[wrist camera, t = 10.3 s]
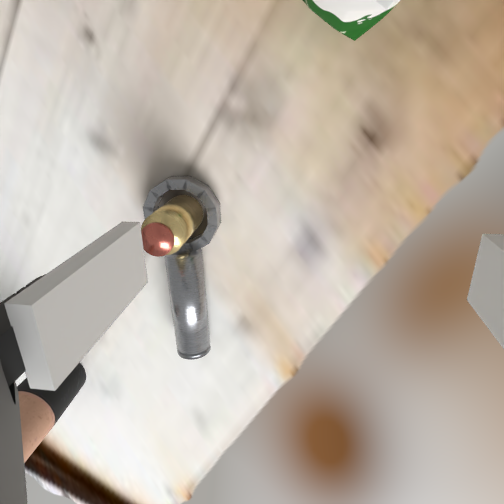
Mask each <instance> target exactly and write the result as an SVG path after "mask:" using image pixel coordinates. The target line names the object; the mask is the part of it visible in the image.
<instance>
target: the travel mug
mask: <svg viewBox="0 0 504 504" xmlns="http://www.w3.org/2000/svg"><path fill="white" fill-rule="evenodd" d="M85 380H86V373H85V370H84V368H83V367H82V365H81V364H80V363H78V365H77V366H76V367H75V368H74V369H73V370H72V372H71V373H70V374H69V375H68V376H67V378H66V379H65V380H64V381H63V382H62V383H61V385H60V386H59V387H58V388H57V389H56V390H55V391H51V390H41V389H31V388H30V386H29V383H28V380H27V378H26V379H25V380H24V381H23V382H22V383H21V384H20V385H18V386H17V389H18V394H19V406H20V419H21V431H22V443H23V455H24V463H25V462H26V460H27V459H28V458H29V457H30V455H31V454H32V453H33V451H34V450H35V449H36V448H37V446H38V445H39V444H40V443H41V441H42V440H43V439H44V438H45V436H46V435H47V434H48V432H49V431H50V430H51V429H52V427H53V426H54V425H55V423H56V422H57V421H58V419H59V418H60V416H61V415H62V414H63V412H64V411H65V410H66V408H67V407H68V405H69V404H70V403H71V401H72V400H73V399H74V397H75V396H76V394H77V393H78V392H79V390H80V389H81V387H82V386H83V384H84V383H85Z"/></svg>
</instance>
